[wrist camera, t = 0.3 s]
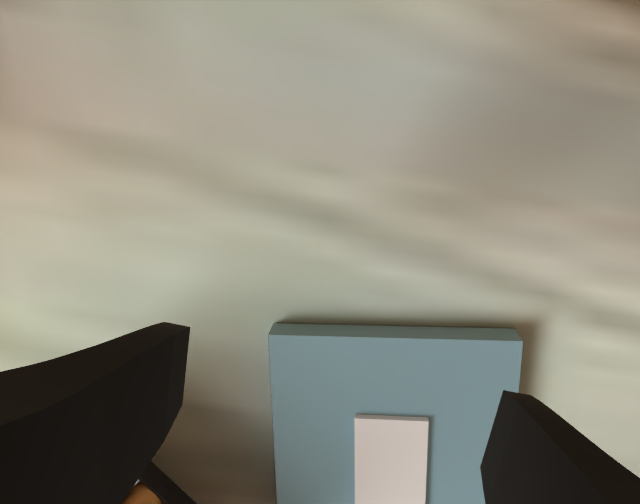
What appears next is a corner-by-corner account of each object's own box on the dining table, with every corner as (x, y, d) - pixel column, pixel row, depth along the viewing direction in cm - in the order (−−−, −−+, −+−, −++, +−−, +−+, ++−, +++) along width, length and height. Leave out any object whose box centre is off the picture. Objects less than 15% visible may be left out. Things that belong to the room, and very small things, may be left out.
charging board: (494, 564, 24) (502, 593, 22) (284, 549, 25) (279, 576, 23) (515, 328, 21) (525, 344, 19) (273, 323, 22) (266, 338, 20)
